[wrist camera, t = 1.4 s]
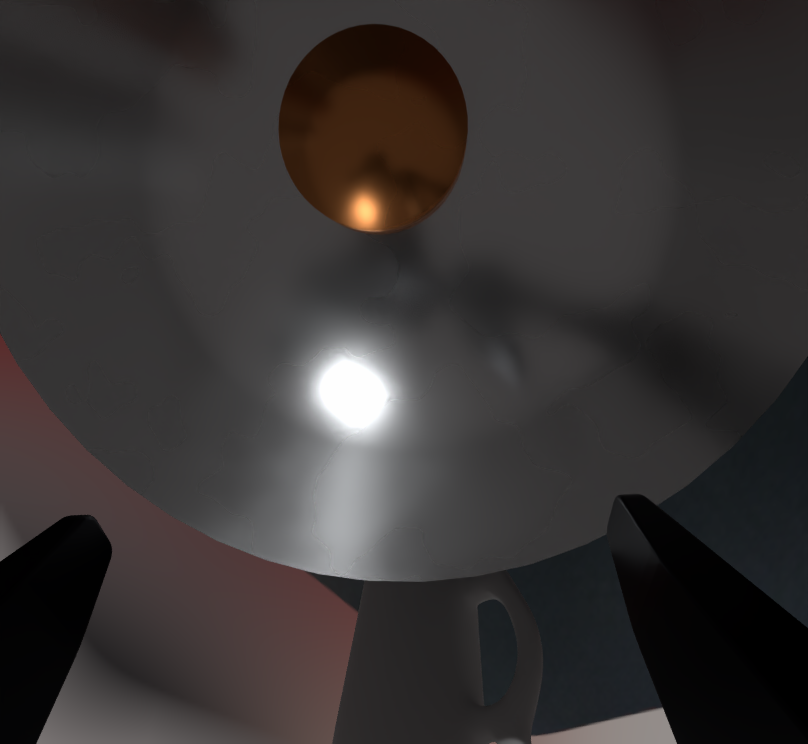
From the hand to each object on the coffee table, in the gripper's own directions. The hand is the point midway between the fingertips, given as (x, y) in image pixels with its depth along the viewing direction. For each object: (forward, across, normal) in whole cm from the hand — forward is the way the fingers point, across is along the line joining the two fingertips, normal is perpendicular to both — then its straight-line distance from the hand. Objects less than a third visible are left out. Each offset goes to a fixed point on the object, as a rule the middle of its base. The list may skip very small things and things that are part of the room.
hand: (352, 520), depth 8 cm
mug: (+13, -2, +18) cm, 22 cm away
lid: (+5, -1, -5) cm, 7 cm away
